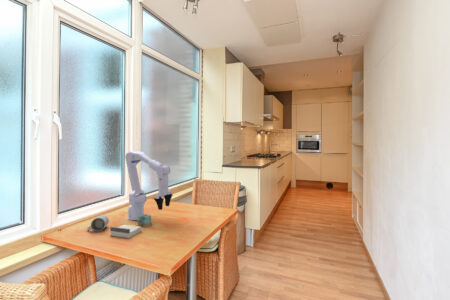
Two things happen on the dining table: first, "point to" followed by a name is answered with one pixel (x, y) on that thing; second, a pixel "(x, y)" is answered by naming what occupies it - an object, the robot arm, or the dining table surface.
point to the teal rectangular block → (144, 220)
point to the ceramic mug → (99, 223)
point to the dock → (125, 231)
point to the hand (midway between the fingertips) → (163, 207)
